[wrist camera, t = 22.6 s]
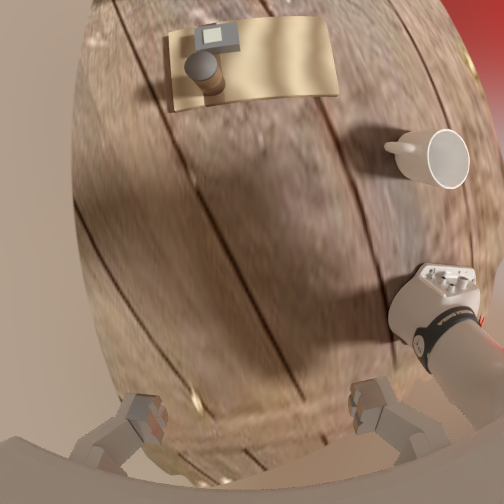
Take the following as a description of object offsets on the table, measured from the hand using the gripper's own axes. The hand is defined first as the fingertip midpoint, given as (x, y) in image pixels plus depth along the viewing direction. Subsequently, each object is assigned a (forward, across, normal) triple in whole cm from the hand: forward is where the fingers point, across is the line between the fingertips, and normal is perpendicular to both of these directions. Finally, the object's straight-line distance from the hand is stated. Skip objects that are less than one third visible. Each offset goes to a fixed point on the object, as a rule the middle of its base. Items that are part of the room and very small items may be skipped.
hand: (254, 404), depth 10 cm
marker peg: (+33, +4, -21) cm, 39 cm away
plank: (+34, -2, -25) cm, 42 cm away
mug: (+34, -25, -9) cm, 43 cm away
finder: (+33, +2, -28) cm, 43 cm away
